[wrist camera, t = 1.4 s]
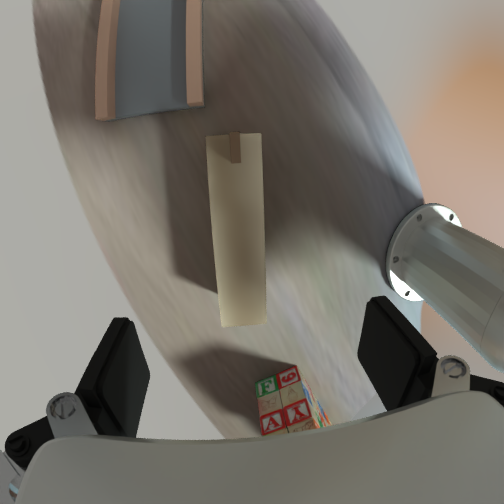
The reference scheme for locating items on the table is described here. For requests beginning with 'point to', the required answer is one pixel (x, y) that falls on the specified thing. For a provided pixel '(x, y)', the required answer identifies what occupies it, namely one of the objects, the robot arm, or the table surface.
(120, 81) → the jig cradle
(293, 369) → the stack of blocks
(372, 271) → the table surface
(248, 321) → the tapered cream block
